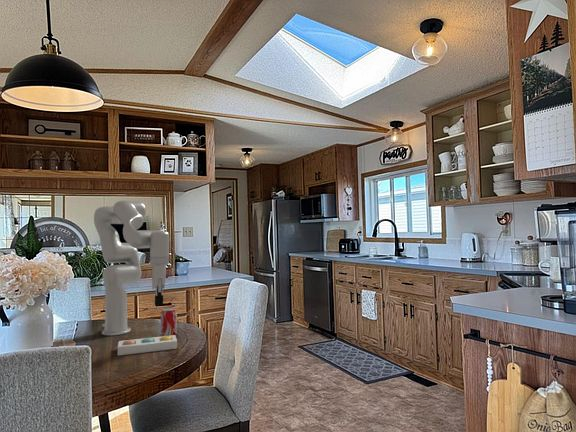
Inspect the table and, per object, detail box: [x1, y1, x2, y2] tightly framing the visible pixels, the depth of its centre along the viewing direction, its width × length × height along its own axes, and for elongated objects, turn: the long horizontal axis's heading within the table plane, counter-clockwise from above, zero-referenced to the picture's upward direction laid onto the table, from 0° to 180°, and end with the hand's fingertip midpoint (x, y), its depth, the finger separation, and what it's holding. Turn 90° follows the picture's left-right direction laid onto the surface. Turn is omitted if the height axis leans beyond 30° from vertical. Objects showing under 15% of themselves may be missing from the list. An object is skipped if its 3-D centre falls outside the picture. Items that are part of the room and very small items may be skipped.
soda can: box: [160, 307, 178, 336], centre depth 180 cm, size 7×7×12 cm
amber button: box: [160, 336, 171, 341], centre depth 164 cm, size 4×4×3 cm
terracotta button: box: [123, 339, 135, 345], centre depth 159 cm, size 4×4×3 cm
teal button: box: [142, 337, 153, 343], centre depth 161 cm, size 4×4×3 cm
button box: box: [117, 335, 178, 356], centre depth 161 cm, size 22×10×3 cm, turn 110°
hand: (158, 304), depth 167 cm, fingers closed
